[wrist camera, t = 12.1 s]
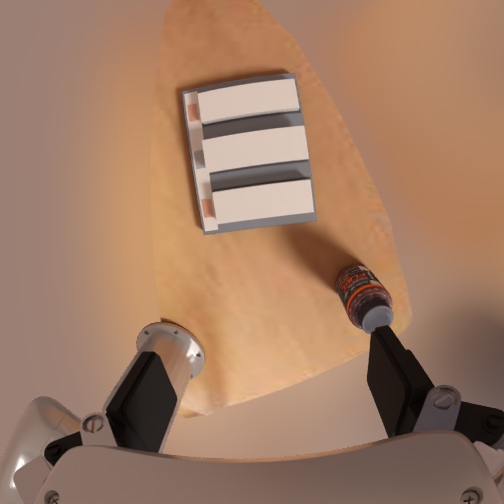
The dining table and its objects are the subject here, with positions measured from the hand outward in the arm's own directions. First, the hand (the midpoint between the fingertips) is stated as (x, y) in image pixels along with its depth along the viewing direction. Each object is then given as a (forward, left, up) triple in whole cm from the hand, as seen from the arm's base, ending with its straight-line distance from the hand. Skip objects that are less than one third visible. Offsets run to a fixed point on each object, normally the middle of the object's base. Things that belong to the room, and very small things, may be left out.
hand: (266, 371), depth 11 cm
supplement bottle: (-2, -15, -28) cm, 31 cm away
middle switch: (+9, +6, -25) cm, 27 cm away
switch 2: (+4, +2, -26) cm, 26 cm away
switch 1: (+15, +9, -26) cm, 31 cm away
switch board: (+9, +6, -28) cm, 30 cm away
